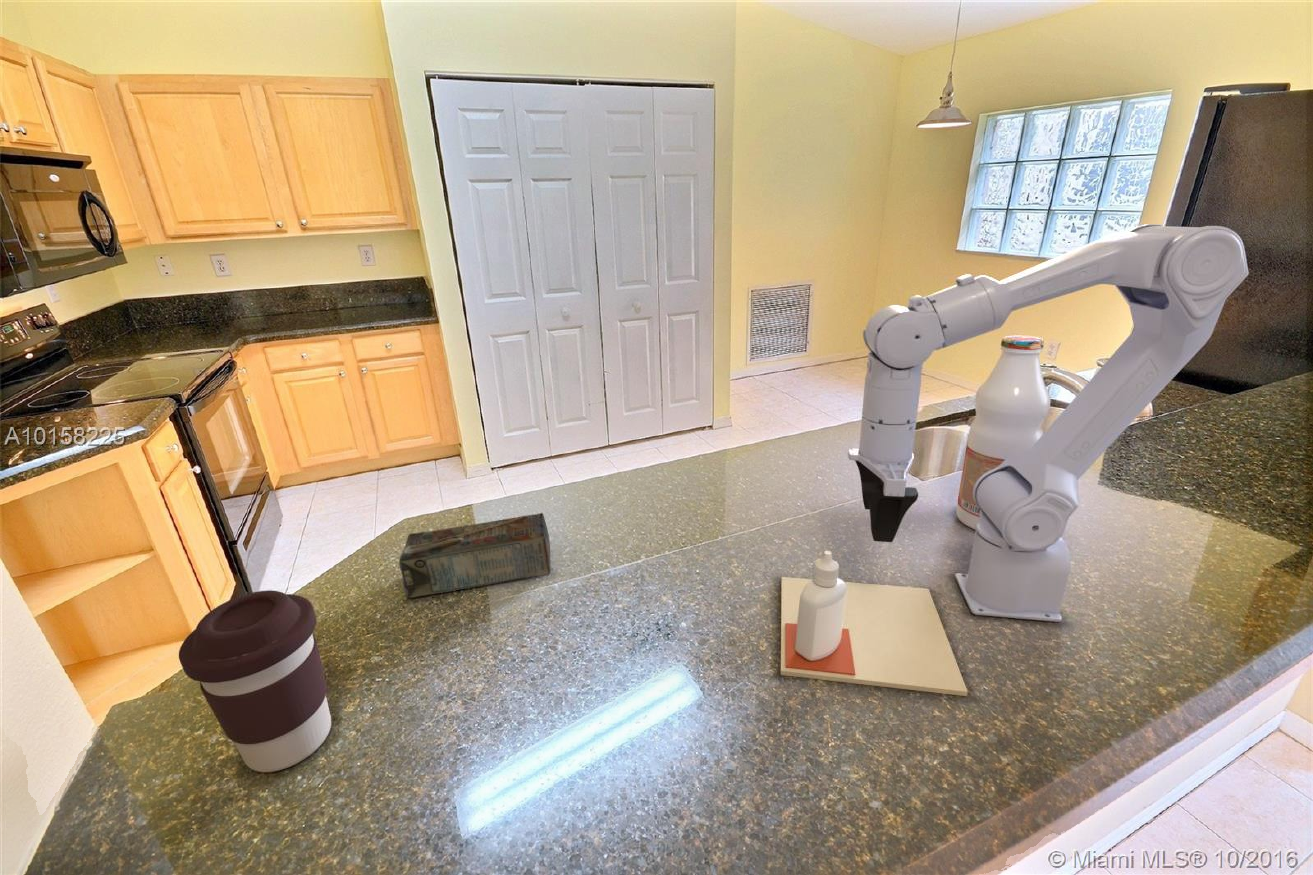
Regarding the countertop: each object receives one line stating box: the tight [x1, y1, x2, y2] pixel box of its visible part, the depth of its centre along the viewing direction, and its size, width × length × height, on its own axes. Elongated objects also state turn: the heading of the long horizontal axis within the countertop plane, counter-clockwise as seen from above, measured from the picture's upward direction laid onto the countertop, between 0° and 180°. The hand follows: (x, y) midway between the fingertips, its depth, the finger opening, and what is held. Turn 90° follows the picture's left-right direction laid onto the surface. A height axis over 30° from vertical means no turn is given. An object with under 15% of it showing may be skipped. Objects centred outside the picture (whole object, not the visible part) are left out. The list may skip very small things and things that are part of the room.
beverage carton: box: [398, 512, 551, 599], centre depth 80 cm, size 8×19×7 cm, turn 103°
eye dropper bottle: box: [795, 550, 847, 661], centre depth 61 cm, size 4×6×12 cm
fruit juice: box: [956, 334, 1052, 531], centre depth 83 cm, size 9×9×28 cm
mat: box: [780, 576, 969, 697], centre depth 66 cm, size 18×17×1 cm
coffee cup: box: [178, 589, 332, 773], centre depth 53 cm, size 10×10×15 cm
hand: (877, 523), depth 69 cm, fingers open, 7 cm apart
